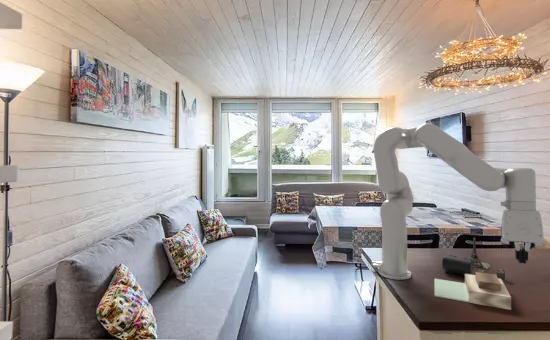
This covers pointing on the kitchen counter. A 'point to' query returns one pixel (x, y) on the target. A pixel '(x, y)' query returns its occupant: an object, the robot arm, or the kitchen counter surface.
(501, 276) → the strap clip
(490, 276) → the brown box
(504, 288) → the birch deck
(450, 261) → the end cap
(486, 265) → the eiffel tower figurine
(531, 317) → the kitchen counter surface
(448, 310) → the kitchen counter surface
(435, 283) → the mat
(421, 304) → the kitchen counter surface
